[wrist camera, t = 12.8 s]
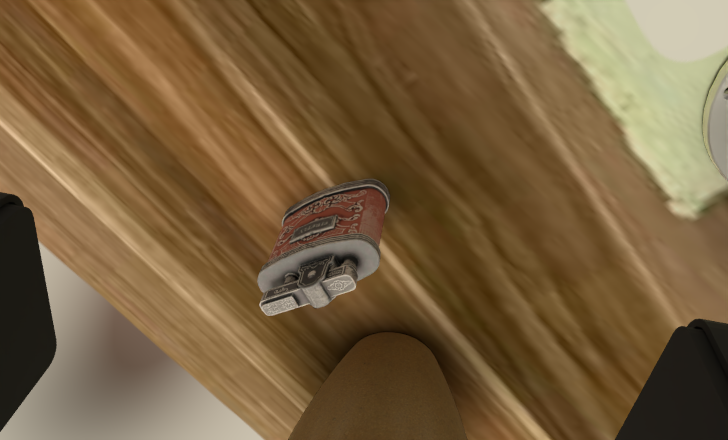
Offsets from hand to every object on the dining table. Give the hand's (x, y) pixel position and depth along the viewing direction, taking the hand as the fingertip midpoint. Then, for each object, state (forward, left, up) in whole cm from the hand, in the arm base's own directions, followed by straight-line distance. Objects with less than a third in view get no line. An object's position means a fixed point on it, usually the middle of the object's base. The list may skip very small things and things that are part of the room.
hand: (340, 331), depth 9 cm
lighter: (+3, +17, -31) cm, 35 cm away
